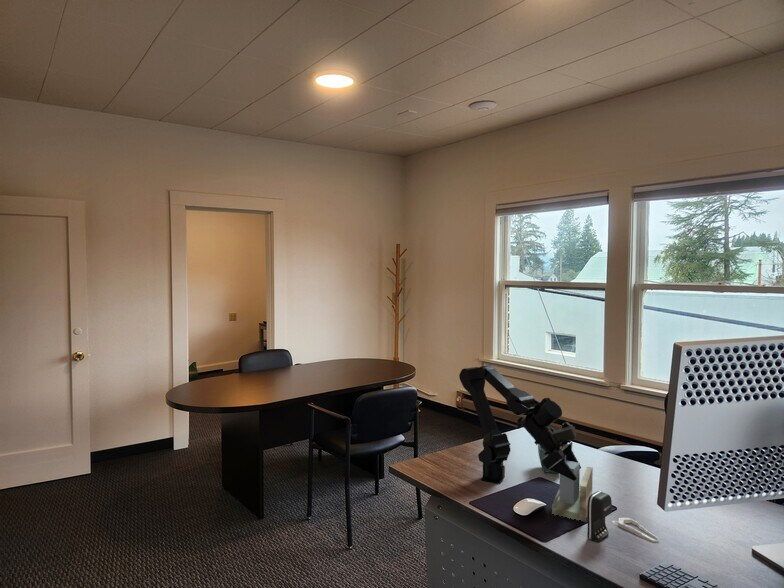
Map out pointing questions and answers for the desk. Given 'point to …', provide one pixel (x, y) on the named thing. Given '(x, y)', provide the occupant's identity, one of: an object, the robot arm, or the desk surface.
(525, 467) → the desk surface
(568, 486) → the cabinet block
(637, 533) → the white looped flat piece
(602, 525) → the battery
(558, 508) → the cream open holder
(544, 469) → the flower pot
